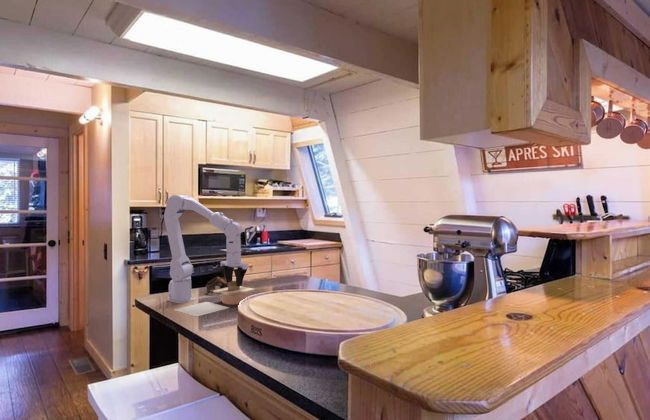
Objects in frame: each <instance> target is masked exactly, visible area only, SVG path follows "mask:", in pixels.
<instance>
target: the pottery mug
mask: <svg viewBox="0 0 650 420" xmlns="http://www.w3.org/2000/svg"><path fill="white" fill-rule="evenodd" d="M205 287H206V292H207V293H210V292H211V291H213V290H216V287H219V289H222V288H226V287H228V285H227V282H226V279H225V277H220V276H216V277H214V278H213V279H211V280H209V281H208V282H207V284H206V285H205Z"/></svg>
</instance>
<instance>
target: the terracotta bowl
mask: <svg viewBox="0 0 650 420" xmlns="http://www.w3.org/2000/svg"><path fill="white" fill-rule="evenodd" d="M246 297H247V298H248V292H247V293H243V294H239V295H235V296H229V295H225V294H221V303H222V304H225V305H239V304H238V303H239V302H240V301H241V300H243V299H245V298H246Z"/></svg>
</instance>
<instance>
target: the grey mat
mask: <svg viewBox="0 0 650 420" xmlns="http://www.w3.org/2000/svg"><path fill="white" fill-rule="evenodd" d="M226 309H230V306H229V307H228V306H224V305H221V304H219V303H218V304H217V303H214V302H209V301H204V302H199V303H196V304H191V305H188V306H182V307H179V308H178V307H177V308H174V309H173V311H176V312H179V313H183V314H186V315H190V316H191V317H192V316H193V317H200V316H203V315H208V314H211V313H215V312H219V311H222V310H223V311H224V310H226Z"/></svg>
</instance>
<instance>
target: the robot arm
mask: <svg viewBox="0 0 650 420" xmlns="http://www.w3.org/2000/svg"><path fill="white" fill-rule="evenodd" d="M165 205H166V207H165V210H164V214H163V220H164V223H165V228H166V229H165V230H166V235H167V239H168V244H169V248H170V252H171V253H170V254H171V260H170V263H169V265H170V269H169V277H170V278H171V280H170V281H169V283H168V299H166V300H167V302H172V303H176V304H182V303H183V304H184V303H187V302H192V301H196V300H197V298H194V297H192V275H193V273H194V265H193V264H192V263H191V259H190V258H189V257H188V256H187V254H186V249H185V245H184V239H183V236H182V231H181V230H182V229H181V226H180V225H181V224H180V221H179V220H180V219H179V218H180V217H181V216H182V214H183V213H185V212H186V211H187V210H188V211H189V210H190V211H194V212H195V213H198V214H199V215H201V216H202V217H205V218H206V219H208V220H209V224H210V225H212V226H213V227H215V228H216V229H218V230H219V231H221V232H223V234H224V235H225V236H226V241H225V242H226V244H225V245H226V260H222V261H220V267H221V268H220V270H221V272H222V274H223V276H224V279H225V280H226V283H227V285H228V282H231V281H233V274H234V276H235V280H236V285H237V286H242V285H243V282H244V277H245V275H246V273H247V271H248V269H249V264H248V263H244V262H242V252H241V251H242V242H241V241H242V239H241V234H242V231H243V227H242V225H241V224H240V222H238V221H234V219H232V218H228V217H227V216H226V215H224V212H219V211H217V212H216V211H215V212H214V211H212V210H211V209H209V208H207V207H206V206H205V205H204V204H202V203H200V202H199V201H198V200H196V199H195V198H193V197H191V196H189V195H187V194H172V195H171V196H170V197H169V198H168V199H167V200H166V201H165ZM242 287H243V286H242Z"/></svg>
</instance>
